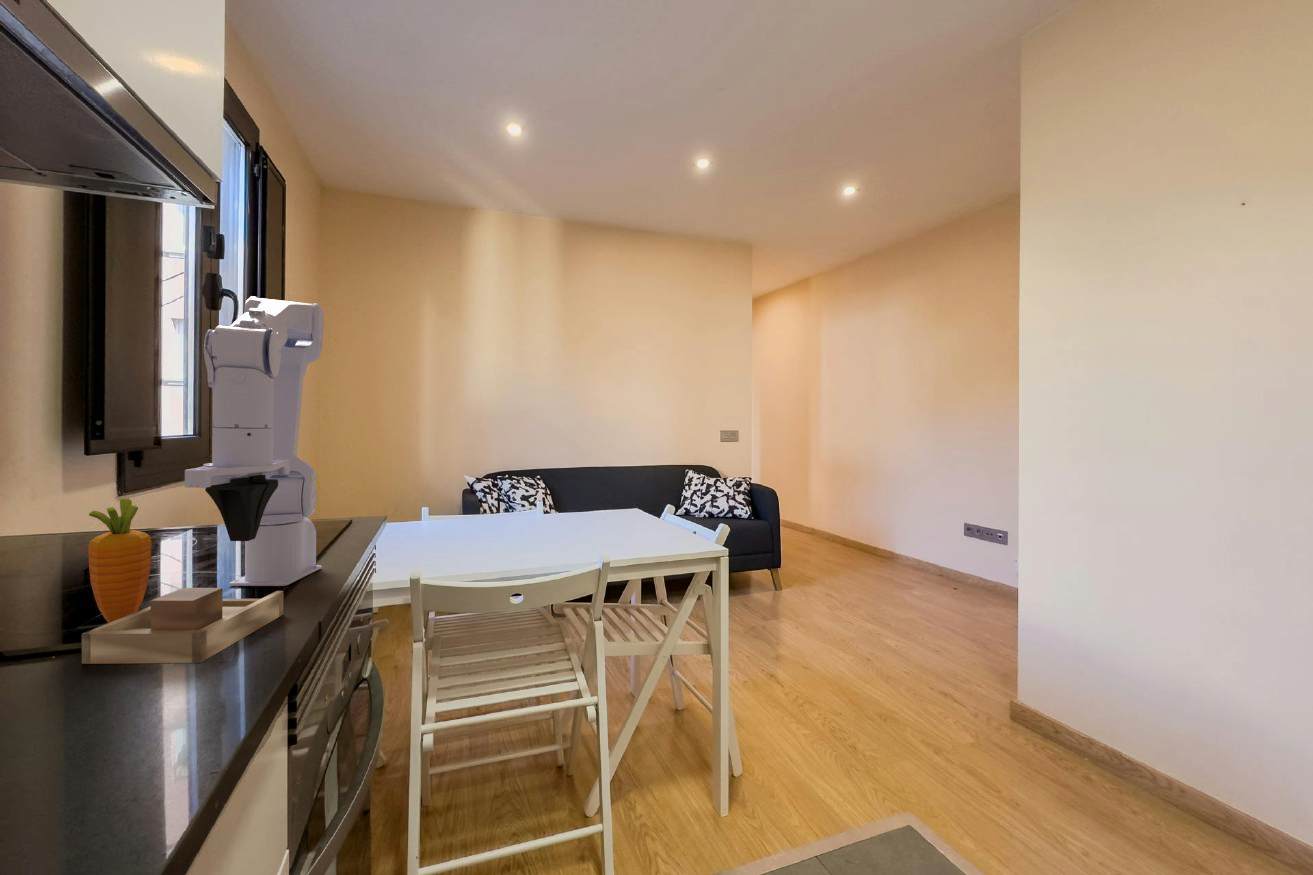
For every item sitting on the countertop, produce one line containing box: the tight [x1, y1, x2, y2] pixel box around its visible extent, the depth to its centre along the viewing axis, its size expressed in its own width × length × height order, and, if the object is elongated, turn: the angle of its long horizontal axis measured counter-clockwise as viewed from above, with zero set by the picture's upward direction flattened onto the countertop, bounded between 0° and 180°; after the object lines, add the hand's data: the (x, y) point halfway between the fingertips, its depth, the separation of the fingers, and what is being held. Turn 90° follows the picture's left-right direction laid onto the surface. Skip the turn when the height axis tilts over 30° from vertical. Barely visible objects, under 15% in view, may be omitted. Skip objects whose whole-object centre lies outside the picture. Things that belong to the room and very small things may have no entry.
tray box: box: [81, 590, 284, 665], centre depth 58 cm, size 13×11×3 cm
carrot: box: [87, 498, 152, 624], centre depth 58 cm, size 5×5×15 cm
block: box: [150, 587, 224, 630], centre depth 54 cm, size 4×4×4 cm
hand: (242, 539), depth 62 cm, fingers closed
